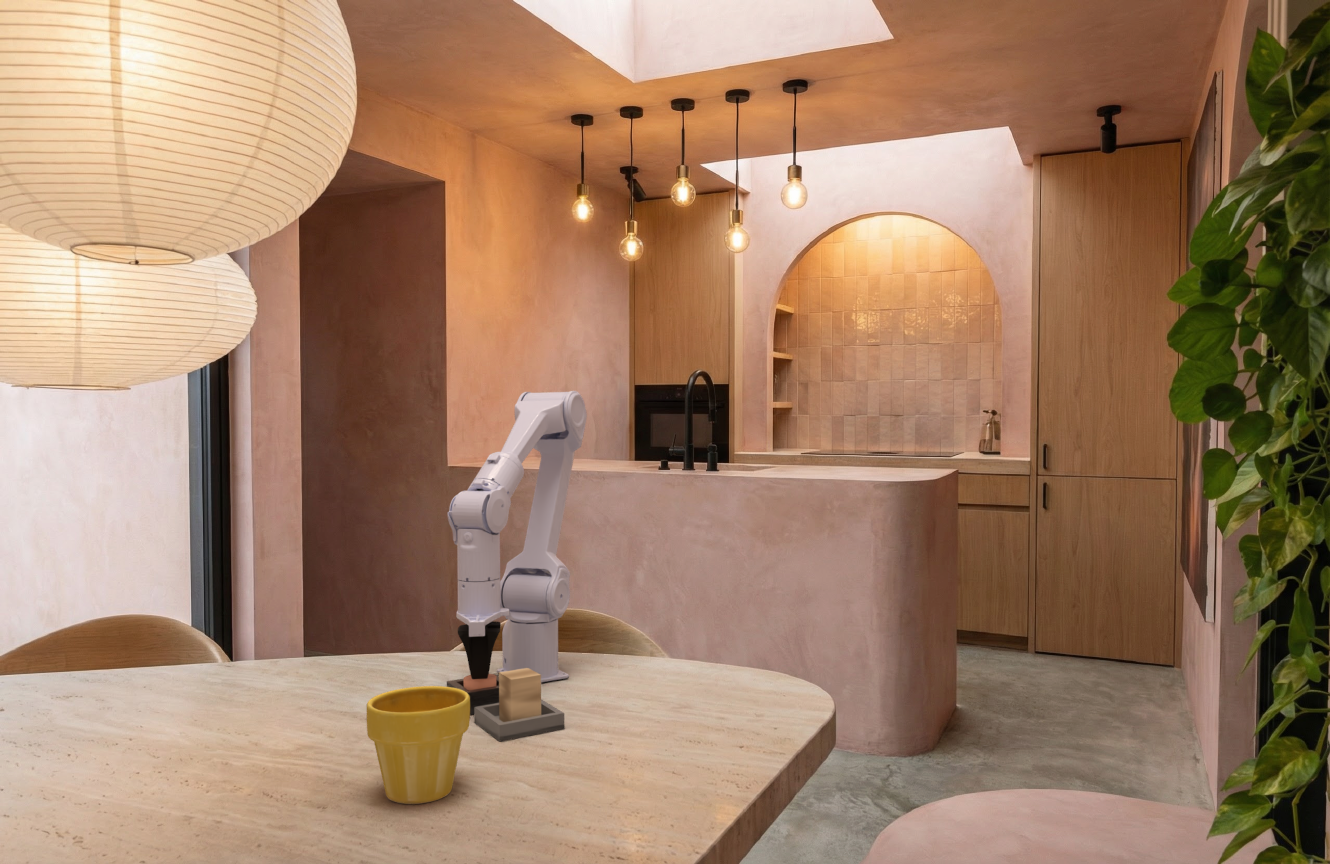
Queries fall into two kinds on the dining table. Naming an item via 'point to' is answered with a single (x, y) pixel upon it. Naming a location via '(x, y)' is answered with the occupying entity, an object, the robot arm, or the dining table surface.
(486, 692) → the button housing
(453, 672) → the dining table surface
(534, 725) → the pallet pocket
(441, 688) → the plant pot
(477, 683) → the button
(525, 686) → the block
